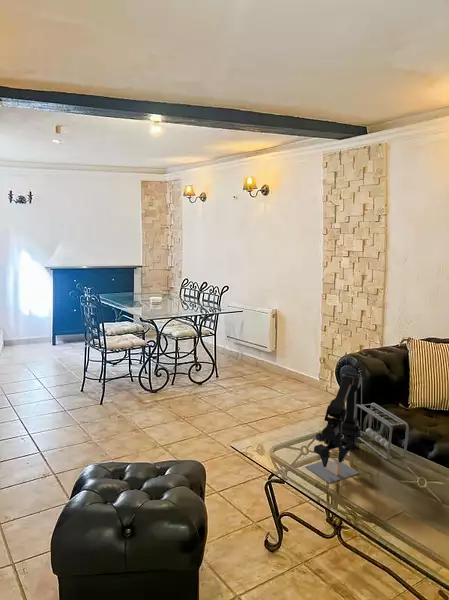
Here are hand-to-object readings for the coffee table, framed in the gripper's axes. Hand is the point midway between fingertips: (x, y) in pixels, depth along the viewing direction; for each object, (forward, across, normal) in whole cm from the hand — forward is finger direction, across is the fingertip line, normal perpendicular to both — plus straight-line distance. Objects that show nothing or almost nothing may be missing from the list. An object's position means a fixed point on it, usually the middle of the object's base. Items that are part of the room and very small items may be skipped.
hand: (332, 464), depth 230 cm
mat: (+4, -1, -1) cm, 4 cm away
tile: (+3, 0, 0) cm, 3 cm away
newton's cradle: (+4, -39, -8) cm, 40 cm away
